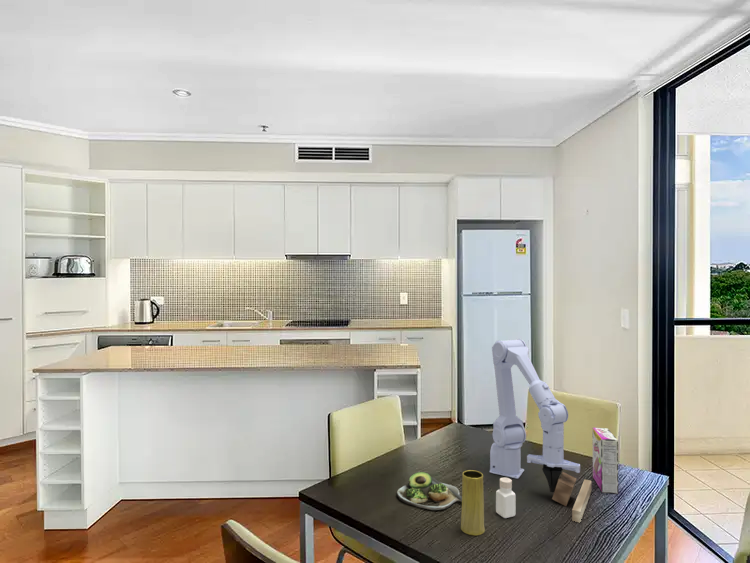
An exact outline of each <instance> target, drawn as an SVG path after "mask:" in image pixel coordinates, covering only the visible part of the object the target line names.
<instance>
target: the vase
mask: <svg viewBox="0 0 750 563" xmlns="http://www.w3.org/2000/svg"><path fill="white" fill-rule="evenodd" d="M461 477H462V478H461V480H462V482H461V484H462V485H461V486H462V487H461V490H462V492H461V496H462V501H461V513H460V514H461V515H460V516H461V518H460V530H461V532H463V533H464V534H466V535H469V536H481V535H482V534H484V533H485V531H486V528H485V509H484V508H485V500H484V494H485V493H484V474H483V473H482V472H481V471H478V470H473V469H468V470H464V471H463V472H462V476H461Z"/></svg>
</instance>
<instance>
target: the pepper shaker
mask: <svg viewBox="0 0 750 563" xmlns="http://www.w3.org/2000/svg"><path fill="white" fill-rule="evenodd" d="M512 484H513V480H512V478H510V477H500V478H499V488H498V489H497V490H496V491H495V512H496V513H497V514H498V515H499V516H501V517H502V518H503V519H507V518H512V517H515V516H516V504H517V503H516V502H517V500H516V499H517V498H516V497H517V496H516V493H515V492H514V491H513V490H512V488H513V485H512Z"/></svg>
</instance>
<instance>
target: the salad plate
mask: <svg viewBox="0 0 750 563" xmlns="http://www.w3.org/2000/svg"><path fill="white" fill-rule="evenodd" d="M396 496H397V498H398V499H399V500H400V501H401V502H403V503H405V504H406V505H410V506H413V507H417V508H421V509H427V510H431V511H441V510H446V509H448V508H450V507H451V506H452V505H453V504H454V503H456V502H462V495H460V490H459V489H458V487H456V486H454V485H451V484H448V483H443V482H441V481H439V480H437V479H436V478H435V477H433V476H431V474H429V473H428V472H424V471H417V472H415V473H413V474H412V475H411V476H409V478H408V482H407V483H406V484H405V485H403V486H402V487H399V488H398V489H397V491H396ZM426 502H435V503H439V504H438V505H426V504H425V505H424V504H421V503H426Z"/></svg>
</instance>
